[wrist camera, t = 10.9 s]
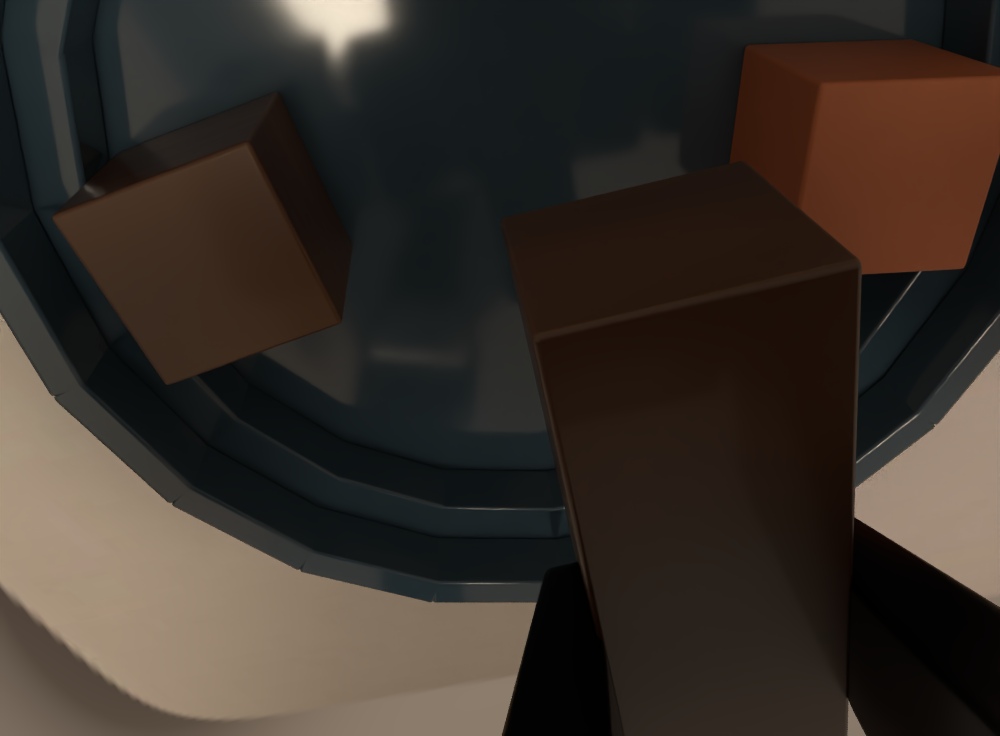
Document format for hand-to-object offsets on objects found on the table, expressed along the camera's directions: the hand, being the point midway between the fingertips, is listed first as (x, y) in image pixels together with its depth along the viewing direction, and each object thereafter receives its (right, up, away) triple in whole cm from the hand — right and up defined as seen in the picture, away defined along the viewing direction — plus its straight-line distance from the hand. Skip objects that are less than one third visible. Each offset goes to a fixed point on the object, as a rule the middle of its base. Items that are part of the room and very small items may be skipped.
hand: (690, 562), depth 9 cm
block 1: (-7, +5, +5) cm, 10 cm away
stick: (0, +1, +1) cm, 1 cm away
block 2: (+3, +6, +6) cm, 9 cm away
